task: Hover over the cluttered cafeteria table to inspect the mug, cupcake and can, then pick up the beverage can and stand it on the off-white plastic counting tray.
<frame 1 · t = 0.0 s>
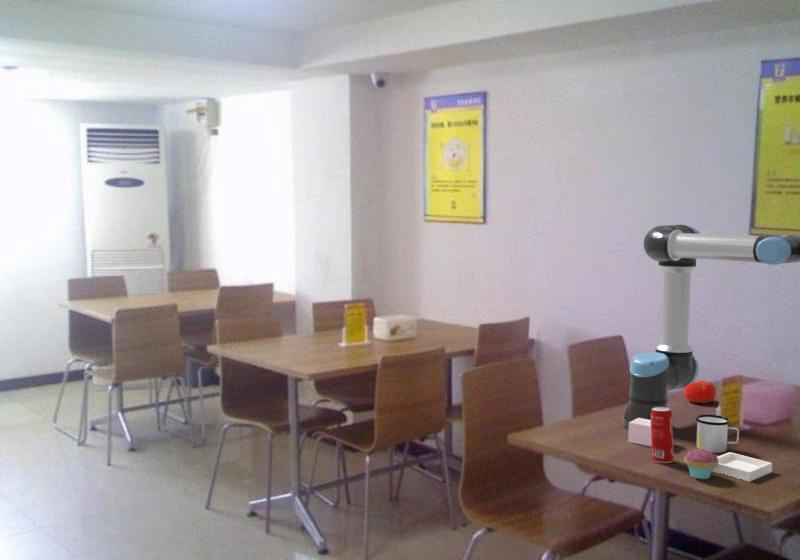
counting tray: (738, 470, 215), on the table
mug: (716, 449, 234), on the table
tomato: (699, 402, 289), on the table
beverage can: (661, 461, 224), on the table
cupcake: (700, 477, 211), on the table
tissue box: (648, 442, 241), on the table
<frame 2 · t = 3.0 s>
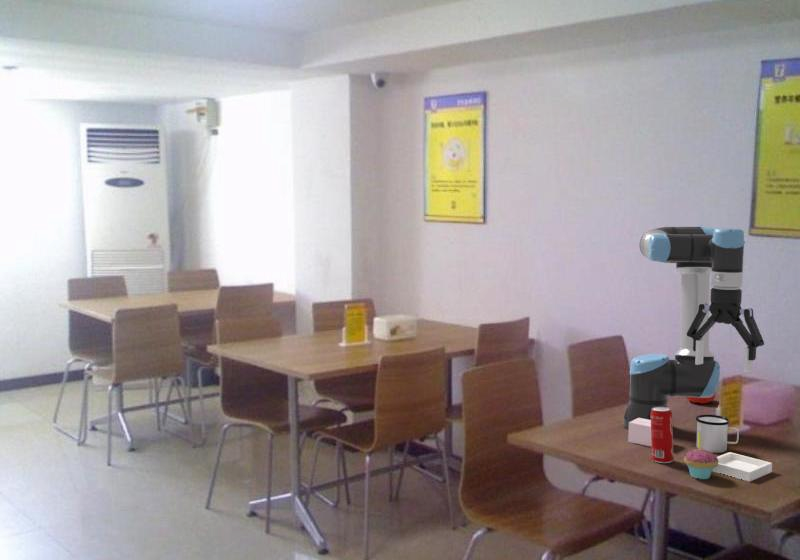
hand: (722, 368, 210), 29 cm above the table, fingers open, 13 cm apart
nothing on the table moved.
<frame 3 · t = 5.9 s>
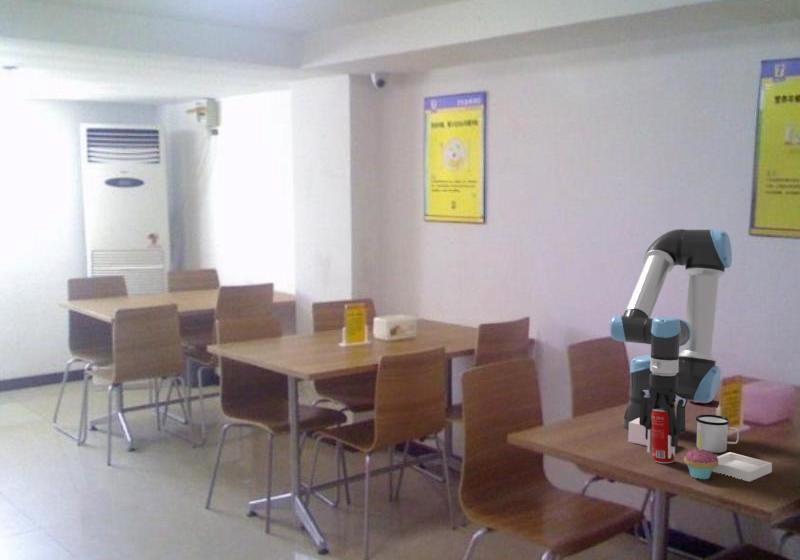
hand: (660, 454, 224), 2 cm above the table, fingers open, 6 cm apart
beverage can: (661, 461, 224), on the table, touching gripper
everything else where it was.
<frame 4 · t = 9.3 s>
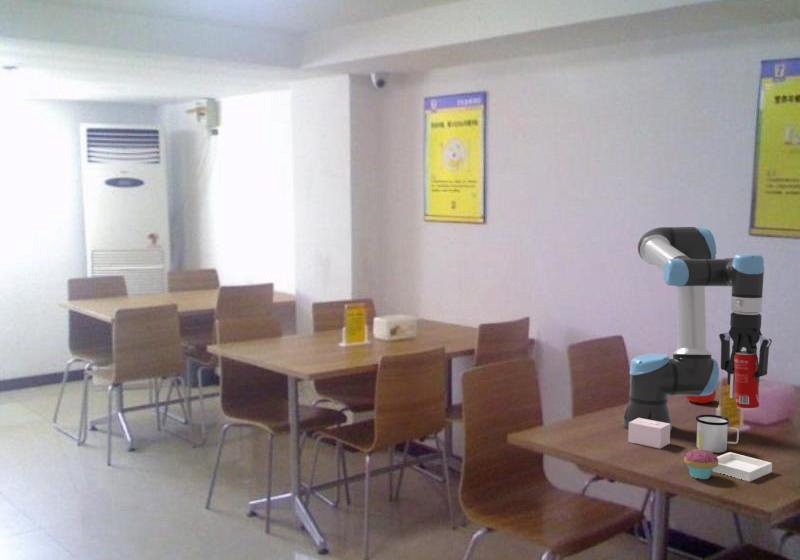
hand: (742, 398, 213), 20 cm above the table, fingers closed on beverage can, 4 cm apart
beverage can: (745, 408, 213), point 18 cm above the table, touching gripper
everything else where it was.
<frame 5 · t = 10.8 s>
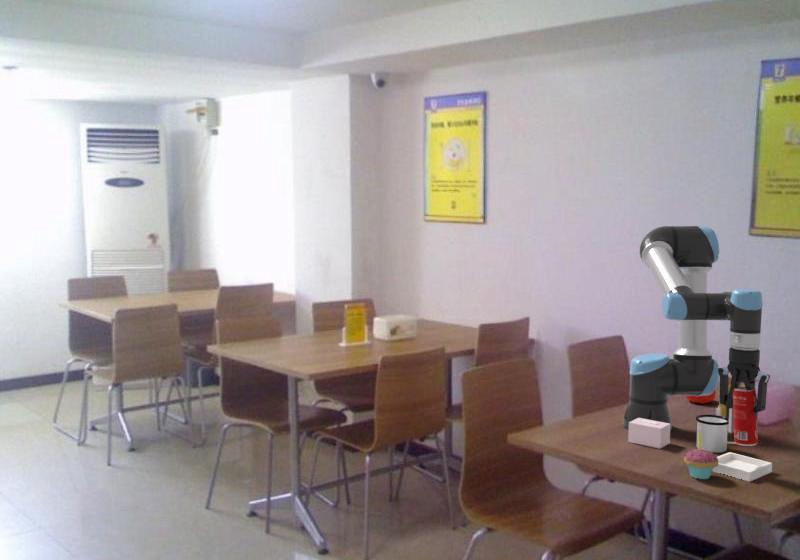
hand: (740, 433, 214), 10 cm above the table, fingers closed on beverage can, 4 cm apart
beverage can: (744, 444, 214), point 8 cm above the table, touching gripper
everything else where it was.
when the fingers open (4 cm above the table, at t = 12.3 s): beverage can stays where it is, resting on counting tray.
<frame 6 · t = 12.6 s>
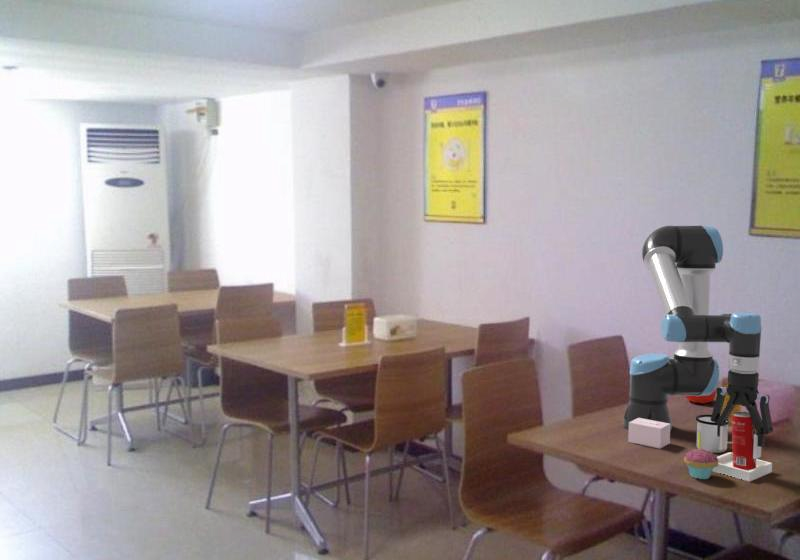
hand: (739, 453, 215), 5 cm above the table, fingers open, 9 cm apart
beverage can: (742, 469, 214), point 1 cm above the table, touching counting tray
everything else where it was.
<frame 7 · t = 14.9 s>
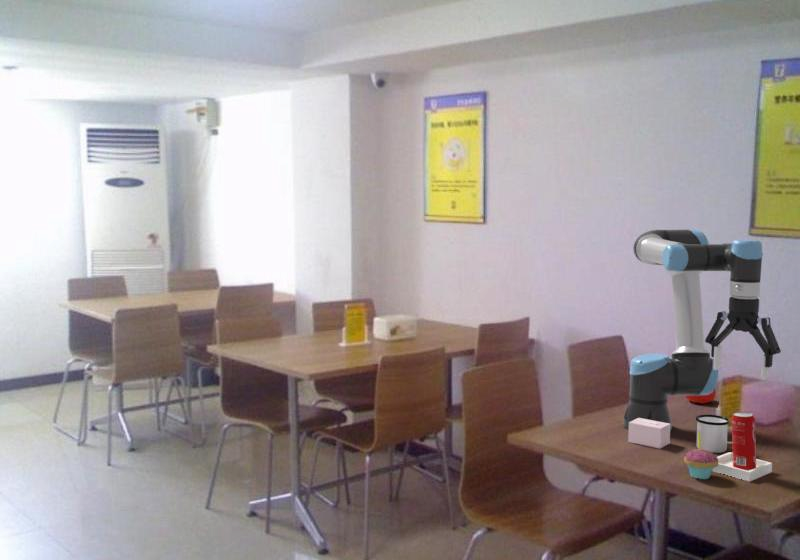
hand: (740, 374, 218), 25 cm above the table, fingers open, 13 cm apart
nothing on the table moved.
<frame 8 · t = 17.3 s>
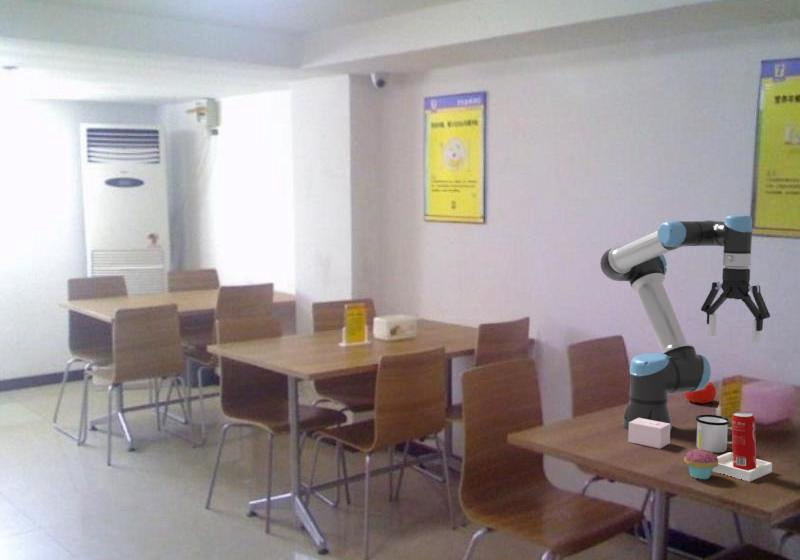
hand: (733, 338, 238), 32 cm above the table, fingers open, 13 cm apart
nothing on the table moved.
at the end: beverage can inside the target area on the counting tray (1.1 cm from its centre), point 0.8 cm above the counting tray's base; beverage can tilted 0°; the gripper is holding nothing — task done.
